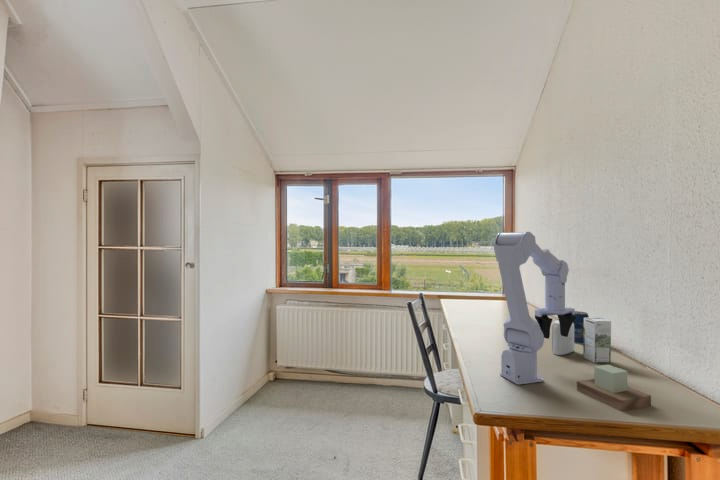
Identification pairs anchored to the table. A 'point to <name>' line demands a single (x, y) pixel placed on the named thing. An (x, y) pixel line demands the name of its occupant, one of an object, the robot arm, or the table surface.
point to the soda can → (579, 327)
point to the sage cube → (610, 378)
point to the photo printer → (562, 340)
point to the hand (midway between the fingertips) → (555, 336)
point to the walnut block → (615, 396)
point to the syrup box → (597, 339)
